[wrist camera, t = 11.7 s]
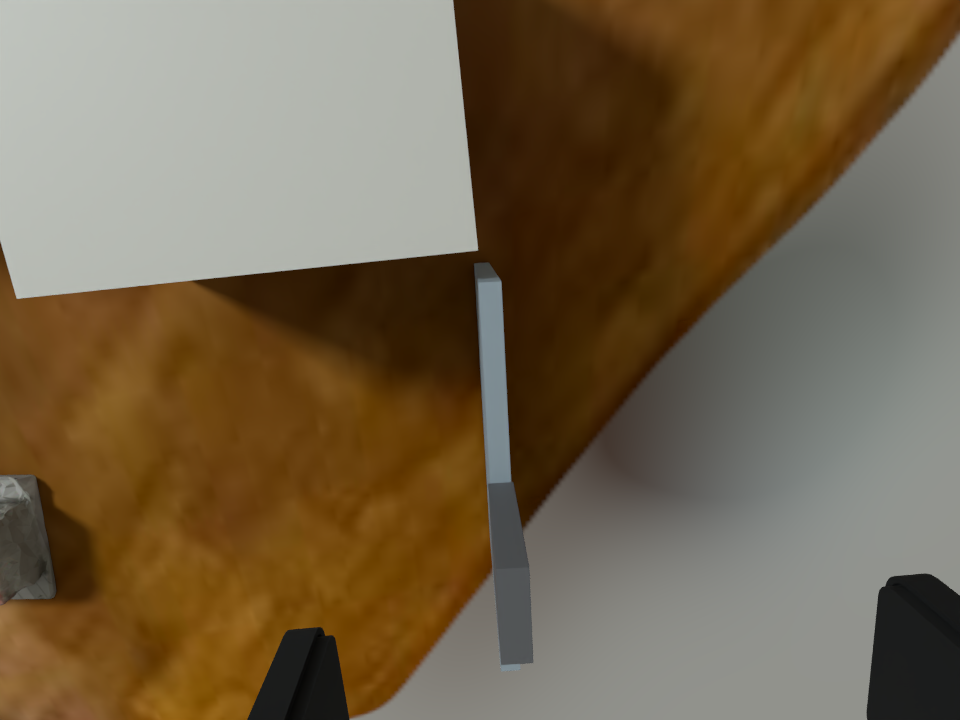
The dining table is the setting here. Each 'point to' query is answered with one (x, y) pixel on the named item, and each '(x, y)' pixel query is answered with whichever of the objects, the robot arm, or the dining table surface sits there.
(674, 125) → the dining table surface
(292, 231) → the carton
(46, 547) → the packaged product
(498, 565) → the flap
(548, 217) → the dining table surface
